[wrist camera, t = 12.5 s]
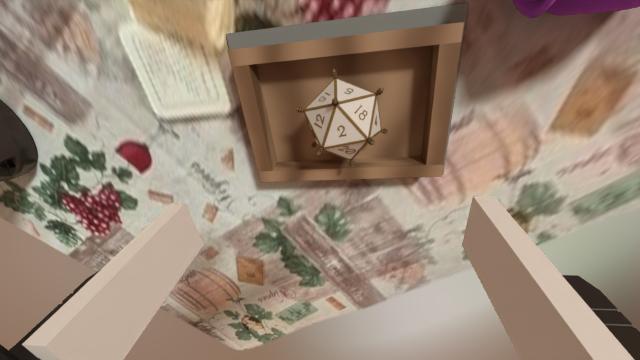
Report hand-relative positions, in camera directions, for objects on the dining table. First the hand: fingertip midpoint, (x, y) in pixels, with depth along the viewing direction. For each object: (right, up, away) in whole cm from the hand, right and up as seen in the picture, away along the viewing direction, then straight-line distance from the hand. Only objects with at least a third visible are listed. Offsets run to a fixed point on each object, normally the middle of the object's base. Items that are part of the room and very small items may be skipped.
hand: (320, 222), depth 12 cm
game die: (+3, +10, +17) cm, 20 cm away
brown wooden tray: (+3, +10, +18) cm, 21 cm away
